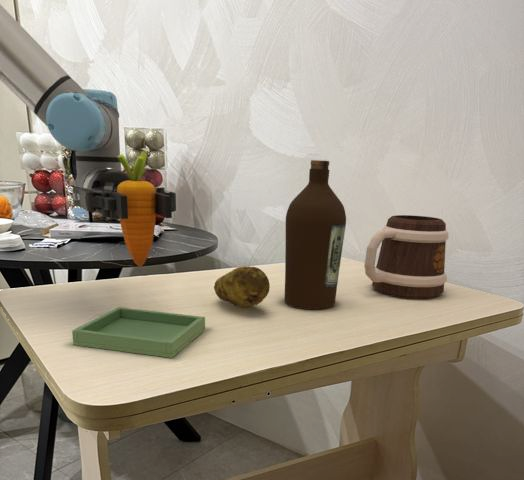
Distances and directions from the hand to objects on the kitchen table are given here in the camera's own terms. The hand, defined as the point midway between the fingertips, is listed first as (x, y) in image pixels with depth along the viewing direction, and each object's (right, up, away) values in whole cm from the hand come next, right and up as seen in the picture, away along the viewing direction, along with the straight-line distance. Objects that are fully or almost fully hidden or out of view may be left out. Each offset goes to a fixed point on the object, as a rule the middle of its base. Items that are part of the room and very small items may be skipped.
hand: (146, 207), depth 65 cm
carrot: (-3, -6, +7) cm, 10 cm away
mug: (+43, -6, +43) cm, 61 cm away
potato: (+11, -11, +27) cm, 31 cm away
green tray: (-3, -16, +11) cm, 19 cm away
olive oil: (+23, -9, +32) cm, 41 cm away
